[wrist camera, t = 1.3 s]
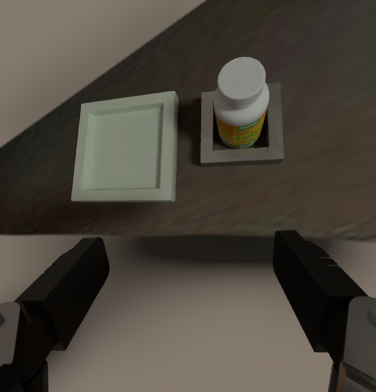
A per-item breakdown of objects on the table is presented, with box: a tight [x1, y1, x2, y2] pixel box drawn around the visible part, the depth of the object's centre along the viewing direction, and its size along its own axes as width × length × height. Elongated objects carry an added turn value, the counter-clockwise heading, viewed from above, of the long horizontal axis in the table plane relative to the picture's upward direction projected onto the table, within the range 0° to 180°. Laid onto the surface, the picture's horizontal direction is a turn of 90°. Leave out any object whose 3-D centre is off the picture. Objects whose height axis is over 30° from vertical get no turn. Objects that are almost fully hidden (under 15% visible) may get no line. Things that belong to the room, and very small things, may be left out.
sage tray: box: [71, 91, 179, 202], centre depth 29 cm, size 15×15×2 cm
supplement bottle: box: [214, 57, 269, 149], centre depth 22 cm, size 5×5×10 cm
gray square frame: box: [201, 82, 284, 167], centre depth 25 cm, size 10×10×2 cm
